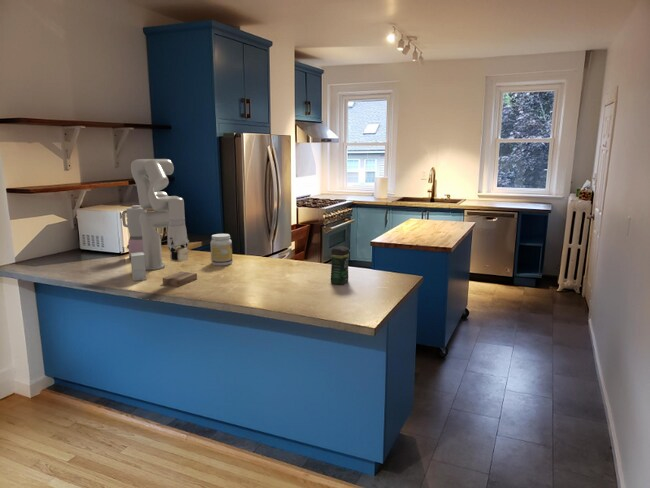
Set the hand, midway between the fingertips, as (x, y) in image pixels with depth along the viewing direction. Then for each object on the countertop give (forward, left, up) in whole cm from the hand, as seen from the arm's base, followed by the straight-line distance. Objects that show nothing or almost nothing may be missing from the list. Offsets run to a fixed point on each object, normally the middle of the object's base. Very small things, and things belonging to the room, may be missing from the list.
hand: (179, 258), depth 238 cm
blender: (-57, +33, -12) cm, 67 cm away
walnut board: (0, 0, -12) cm, 12 cm away
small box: (-23, -3, -12) cm, 26 cm away
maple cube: (0, 0, -1) cm, 1 cm away
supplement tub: (-2, +41, -12) cm, 43 cm away
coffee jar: (+75, +30, -12) cm, 81 cm away
